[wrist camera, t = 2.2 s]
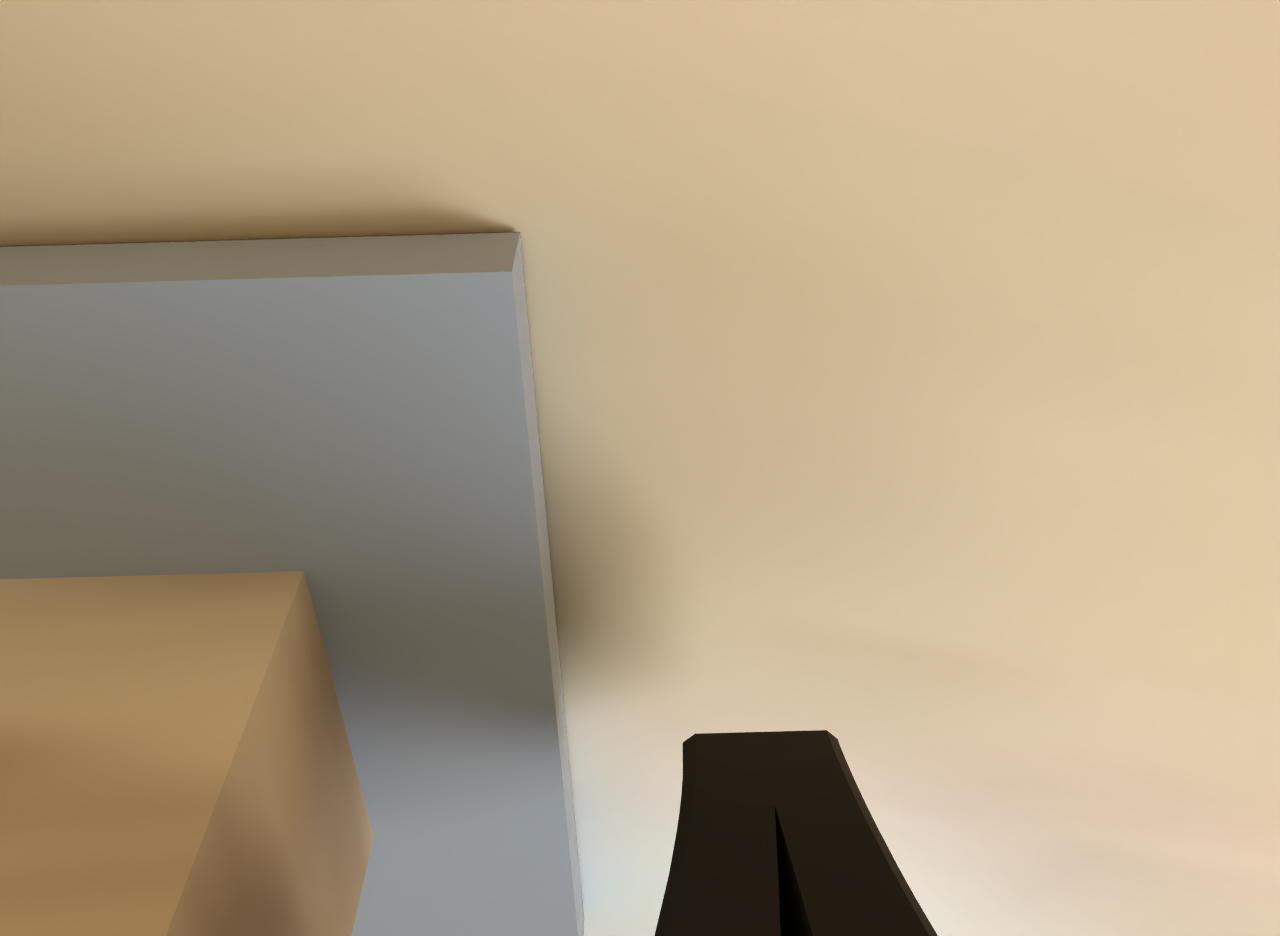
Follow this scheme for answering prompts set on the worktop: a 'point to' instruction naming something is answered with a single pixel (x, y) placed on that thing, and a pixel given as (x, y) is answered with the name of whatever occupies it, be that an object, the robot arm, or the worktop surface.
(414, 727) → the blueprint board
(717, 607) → the worktop surface
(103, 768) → the maple block
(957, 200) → the worktop surface
